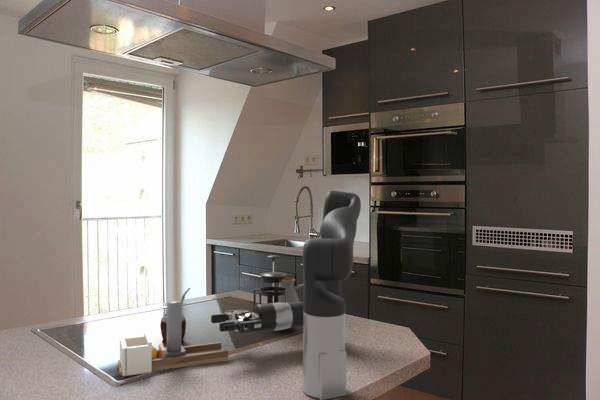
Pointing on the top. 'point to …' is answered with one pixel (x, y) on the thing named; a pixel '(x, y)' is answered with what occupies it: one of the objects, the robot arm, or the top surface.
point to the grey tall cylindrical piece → (173, 331)
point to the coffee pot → (289, 290)
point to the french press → (273, 278)
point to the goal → (136, 355)
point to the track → (190, 357)
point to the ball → (154, 352)
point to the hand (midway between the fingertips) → (215, 323)
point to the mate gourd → (164, 325)
